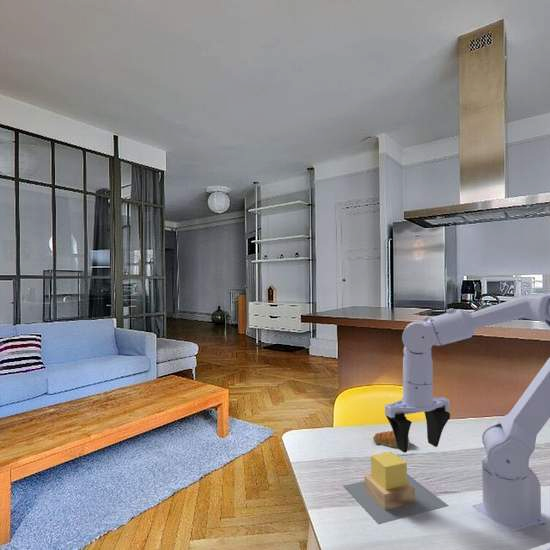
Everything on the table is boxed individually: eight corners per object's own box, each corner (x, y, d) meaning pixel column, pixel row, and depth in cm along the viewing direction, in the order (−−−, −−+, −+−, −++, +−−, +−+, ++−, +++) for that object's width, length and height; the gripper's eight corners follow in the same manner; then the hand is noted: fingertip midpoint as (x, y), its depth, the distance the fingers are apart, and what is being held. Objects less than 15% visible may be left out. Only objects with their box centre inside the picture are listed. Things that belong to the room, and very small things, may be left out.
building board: (405, 474, 85) (405, 472, 85) (448, 508, 72) (448, 505, 72) (342, 488, 79) (342, 485, 79) (378, 527, 67) (378, 523, 67)
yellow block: (391, 472, 79) (391, 451, 79) (406, 485, 74) (406, 462, 74) (371, 477, 77) (370, 455, 77) (385, 490, 72) (385, 467, 73)
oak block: (392, 483, 80) (392, 469, 80) (414, 502, 73) (414, 487, 73) (364, 490, 78) (364, 475, 78) (384, 510, 71) (384, 494, 71)
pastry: (372, 448, 98) (372, 433, 98) (374, 437, 105) (373, 424, 105) (410, 453, 95) (409, 438, 95) (409, 442, 102) (409, 428, 102)
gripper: (432, 373, 82) (432, 434, 82) (375, 379, 77) (376, 444, 77) (457, 381, 75) (457, 448, 75) (397, 388, 70) (397, 460, 70)
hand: (417, 447), depth 76 cm, fingers open, 7 cm apart
